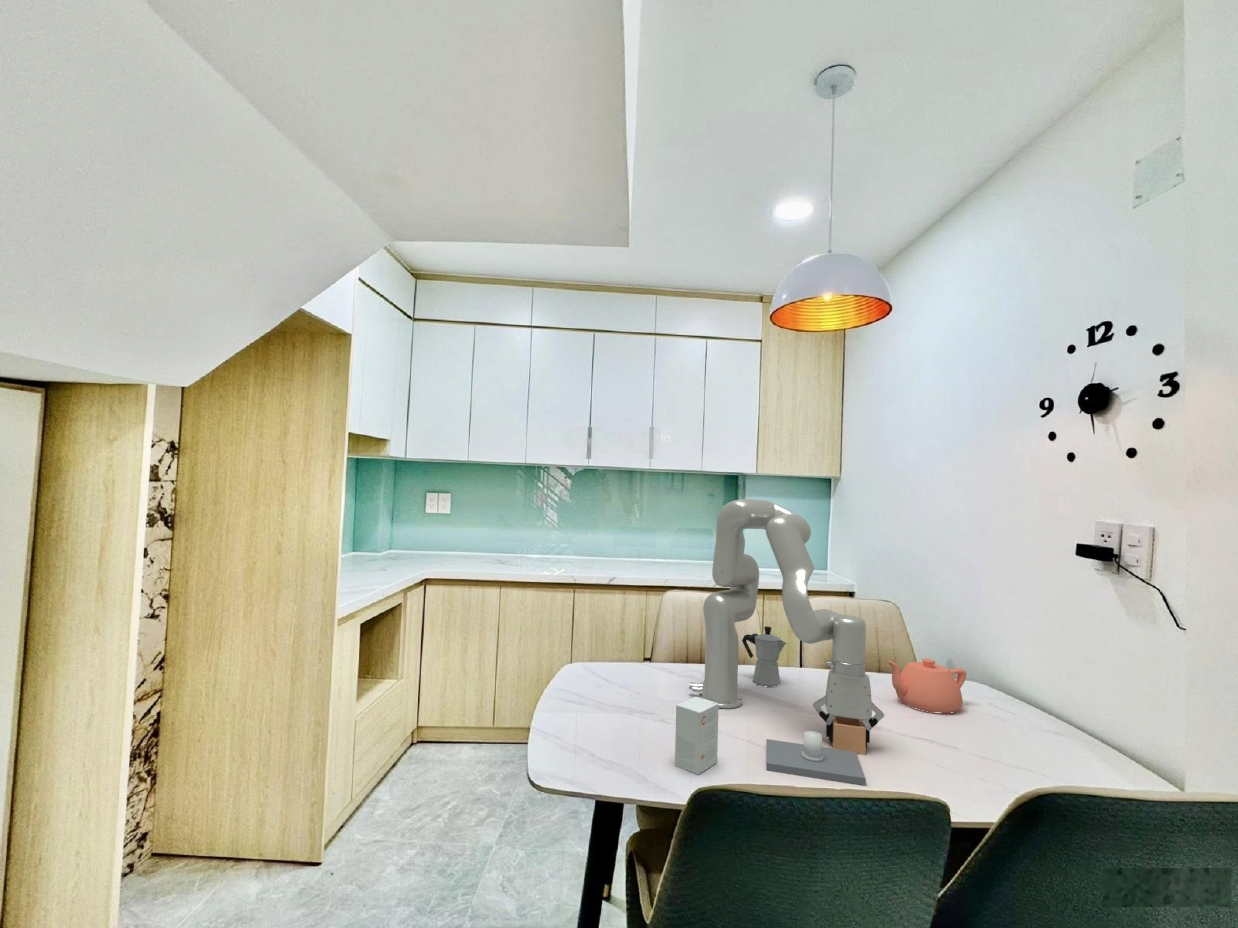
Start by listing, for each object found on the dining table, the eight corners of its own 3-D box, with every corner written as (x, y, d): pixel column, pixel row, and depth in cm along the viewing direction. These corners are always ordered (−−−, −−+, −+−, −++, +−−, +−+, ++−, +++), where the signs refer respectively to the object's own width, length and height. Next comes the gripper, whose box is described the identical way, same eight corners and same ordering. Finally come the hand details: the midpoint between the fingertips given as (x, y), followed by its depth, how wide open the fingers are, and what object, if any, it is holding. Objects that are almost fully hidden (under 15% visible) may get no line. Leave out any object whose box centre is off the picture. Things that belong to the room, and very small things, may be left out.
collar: (833, 750, 133) (834, 724, 134) (830, 738, 140) (830, 713, 140) (865, 754, 131) (865, 728, 132) (860, 742, 138) (860, 717, 139)
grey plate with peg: (766, 770, 122) (767, 739, 122) (766, 745, 134) (767, 717, 135) (865, 785, 117) (865, 753, 117) (855, 758, 129) (856, 729, 130)
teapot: (901, 715, 158) (902, 667, 159) (870, 694, 175) (871, 650, 176) (985, 716, 160) (985, 668, 161) (946, 695, 177) (946, 652, 178)
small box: (693, 753, 128) (695, 695, 129) (717, 763, 124) (719, 702, 125) (673, 765, 122) (675, 704, 123) (698, 775, 118) (700, 712, 119)
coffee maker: (789, 683, 182) (791, 627, 183) (782, 690, 175) (783, 632, 176) (745, 674, 190) (747, 620, 191) (736, 681, 183) (738, 625, 184)
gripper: (812, 668, 136) (810, 743, 134) (890, 676, 131) (889, 755, 130) (809, 659, 143) (808, 731, 142) (884, 667, 138) (883, 741, 137)
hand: (847, 742), depth 136 cm, fingers closed on collar, 7 cm apart
